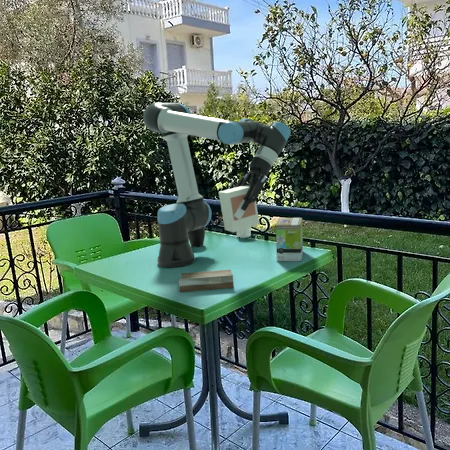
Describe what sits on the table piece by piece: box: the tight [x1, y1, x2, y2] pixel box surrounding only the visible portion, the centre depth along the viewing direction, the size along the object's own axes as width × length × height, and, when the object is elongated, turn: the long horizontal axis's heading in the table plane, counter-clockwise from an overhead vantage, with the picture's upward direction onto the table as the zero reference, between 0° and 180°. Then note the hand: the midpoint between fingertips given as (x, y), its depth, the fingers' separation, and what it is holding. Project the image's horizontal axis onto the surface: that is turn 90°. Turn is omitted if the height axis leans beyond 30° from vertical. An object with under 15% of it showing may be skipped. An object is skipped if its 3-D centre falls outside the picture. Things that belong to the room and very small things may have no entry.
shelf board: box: [178, 269, 234, 293], centre depth 155 cm, size 14×18×4 cm
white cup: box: [236, 227, 252, 239], centre depth 219 cm, size 8×8×10 cm
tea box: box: [275, 217, 304, 262], centre depth 179 cm, size 15×10×15 cm, turn 168°
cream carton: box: [218, 185, 260, 233], centre depth 158 cm, size 6×11×14 cm, turn 120°
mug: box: [188, 226, 206, 248], centre depth 209 cm, size 8×12×10 cm
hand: (231, 216), depth 157 cm, fingers closed on cream carton, 6 cm apart
